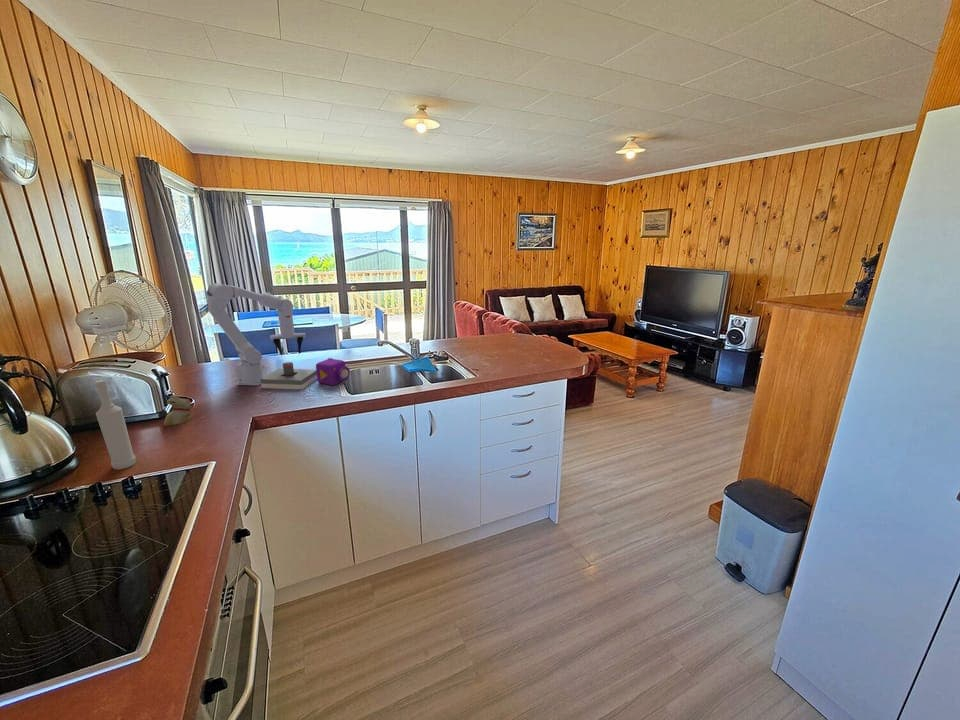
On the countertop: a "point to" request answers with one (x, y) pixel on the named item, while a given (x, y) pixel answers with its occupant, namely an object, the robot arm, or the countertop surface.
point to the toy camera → (332, 371)
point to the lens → (288, 369)
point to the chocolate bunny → (177, 411)
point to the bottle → (114, 430)
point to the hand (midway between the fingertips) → (290, 353)
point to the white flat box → (289, 379)
